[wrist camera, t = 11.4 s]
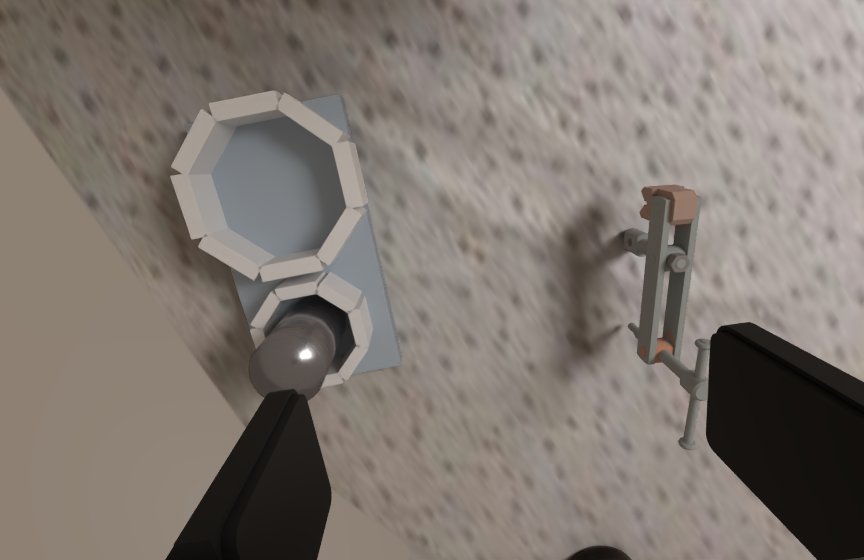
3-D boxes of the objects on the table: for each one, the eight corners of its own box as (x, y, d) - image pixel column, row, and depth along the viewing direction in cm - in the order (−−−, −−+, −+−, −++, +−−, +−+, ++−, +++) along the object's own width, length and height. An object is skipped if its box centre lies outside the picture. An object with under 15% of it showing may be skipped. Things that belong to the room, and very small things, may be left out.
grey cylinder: (282, 301, 30) (238, 345, 23) (337, 289, 30) (312, 329, 23) (298, 352, 31) (261, 412, 24) (352, 340, 31) (333, 396, 24)
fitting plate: (189, 123, 29) (149, 115, 24) (346, 91, 28) (334, 78, 24) (271, 381, 33) (250, 413, 29) (405, 355, 33) (403, 384, 29)
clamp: (619, 181, 30) (712, 205, 21) (650, 179, 30) (758, 201, 21) (606, 368, 35) (676, 456, 26) (633, 366, 35) (713, 452, 26)
